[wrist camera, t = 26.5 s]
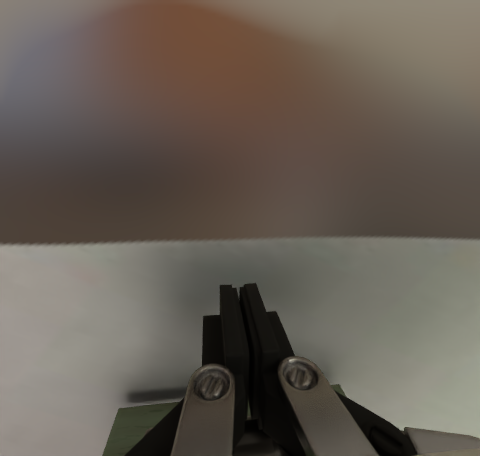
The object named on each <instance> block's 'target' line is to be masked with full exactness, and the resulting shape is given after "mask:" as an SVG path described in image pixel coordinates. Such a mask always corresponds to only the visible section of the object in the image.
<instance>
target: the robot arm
mask: <svg viewBox="0 0 480 456" xmlns="http://www.w3.org/2000/svg"><path fill="white" fill-rule="evenodd" d="M248 401H249V408H250V414H251V419H257V423H258V429H259V430H262V429H263V432H265V433H266V434H267V435H268V436H270V437H271V438H272V443H273V447H274V450H275V453H276V456H480V439H479V438H476V437H473V436H469V435H462V434H454V433H447V432H439V431H431V430H424V429H416V428H409V427H405V428H404V431H401V430H399V429H398V428H397V427H395V426H394V425H393V424H391V423H390V422H388V421H386V420H385V419H383V418H381V417H380V416H378V415H376V414H374V413H373V412H371V411H369V410H368V409H366V408H364V407H362V406H361V405H359V404H357V403H355V402H354V401H352V400H350V399H349V398H347V397H345V396H343V395H342V394H340V393H338V392H337V391H335V390H334V389H333V388H332V386H331V385H330V384H329V382H328V381H327V379H326V378H325V376H324V375H323V373H322V372H321V370H320V369H319V368H318V367H317V366H316V365H315V364H314V363H313V362H311V361H310V360H308V359H306V358H303V357H298V356H295V354H294V352H293V350H292V347H291V345H290V342H289V340H288V338H287V335H286V333H285V330H284V328H283V326H282V323H281V321H280V319H279V316H278V314H277V312H276V311H271V312H266V309H265V307H264V304H263V301H262V298H261V295H260V293H259V290H258V287H257V284H256V283H252V284H244V287H240V290H239V298H238V293H237V288H232V285H220V315H210V316H203V345H202V367H200V368H199V369H197V370H196V371H195V372H194V373H193V375H192V376H191V378H190V380H189V383H188V387H187V391H186V395H185V397H184V398H183V399H182V400H181V401H180V402H179V403H178V404H177V405H176V406H175V407H174V408H173V409H172V410H171V411H170V412H169V413H168V414H167V415H166V416H165V417H164V418H163V419H162V420H161V421H160V422H159V423H158V424H156V425H155V426H154V427H153V428H152V429H151V430H150V431H149V432H148V433H147V434H146V435H145V436H144V437H143V438H142V439H141V440H140V441H139V442H138V443H137V444H136V445H135V446H134V447H133V448H132V449H131V450H130V451H129V452H127V453H126V454H125V455H124V456H234V448H235V447H236V445H237V444H238V443H239V441H240V440H241V438H242V437H243V435H244V432H245V420H247V415H248Z"/></svg>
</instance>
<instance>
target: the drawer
mask: <svg viewBox="0 0 480 456" xmlns="http://www.w3.org/2000/svg"><path fill="white" fill-rule="evenodd" d="M331 386H332V388H333V389H334V390H335V391H337V392H338V393H340V394H342V395H343V396H345V394H344V392H343V390H342V389H341V387H340V385H339V384H338V385H331ZM345 397H346V396H345ZM178 403H179V402H173V403H164V404H155V405H146V406H136V407H127V408H119V409H118V412H117V415H116V418H115V421H114V424H113V426H112V429H111V432H110V435H109V438H108V441H107V444H106V447H105V449H104V452H103V455H102V456H124V455H125V454H126V453H127V452H129V451H130V450H131V449H132V448H133V447H134V446H135V445H136V444H137V443H138V442H139V441H140V440H141V439H142V438H143V437H144V436H145V435H146V434H147V433H148V432H149V431H150V430H151V429H152V428H153V427H154V426H155V425H156V424H158V423H159V422H160V421H161V420H162V419H163V418H164V417H165V416H166V415H167V414H168V413H169V412H170V411H171V410H172V409H173V408H174V407H175V406H176V405H177V404H178ZM234 456H276V453H275V450H274V447H273V443H272V438H271V437H270V436H268V435H267V434H266V433H265V432H263V429H262V430H259V429H258V423H257V419H251V414H250V408H249V401H248V415H247V420H245V432H244V435H243V437H242V438H241V440H240V441H239V443H238V444H237V445H236V447H235V448H234Z"/></svg>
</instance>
